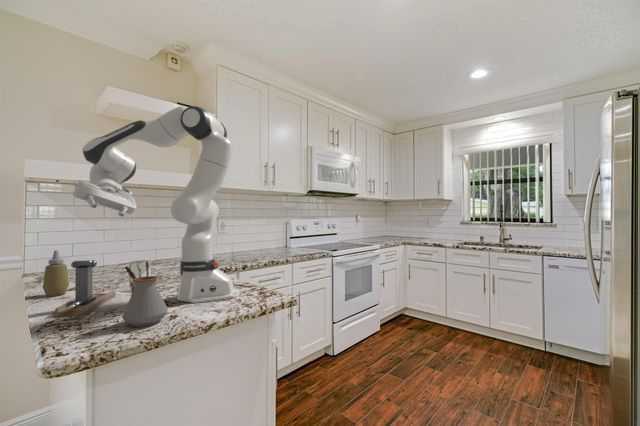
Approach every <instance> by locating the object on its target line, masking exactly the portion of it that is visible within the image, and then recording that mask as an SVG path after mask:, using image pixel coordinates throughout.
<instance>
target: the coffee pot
mask: <svg viewBox="0 0 640 426" xmlns="http://www.w3.org/2000/svg"><path fill="white" fill-rule="evenodd" d="M124 269H125V270H126V271H123V270H124ZM121 271H122V273H125V272H126V273H127V274H128V273H129V275H130V277H131V278H132V279H133V281H134V282H135V286H136V287H135V289H134V291H133V293H132V295H131V294H130V298H129V299H128V303H127V304H126V306H125V309H124V311H123V312H122V317H121V318H122V319H123V321H124V323H126V324H129V325H130V327H135V328H140V327H148V326H152V325H156V324H158V323H159V322H161V320H162V319H163V318H164V317H165V316H166V315H167V313H168V306H167V305H166V302H165V301H164V298H163V296H162V295H161V293H160V291H159V289H158V287H157V280H158V279H159V276H157V275H155V276H154V275H151V276H147V277H139V278H136V276H135V275H134V273H133V272H132V271H131V269H129V266H125V267H123V268H122V270H121Z"/></svg>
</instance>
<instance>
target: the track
mask: <svg viewBox="0 0 640 426" xmlns="http://www.w3.org/2000/svg"><path fill="white" fill-rule="evenodd" d="M92 297H96V300H94V301H93V302H91V303H89V304H81V305H79V306H77V307H76V308H74V309H72V310H68V306H70V305H72V301H74V300H75V298H74V299H72V300H70V301H68V302H66V303H64V304H62V305H60V306H58V307H56V308H54V311H53V312H52V318H60V317H62V318H63V317H72V316H73V317H74V316H84V315H88V314H90V313H91V312H93V311H95V310H96V309H98V308H100V307H101V306H102V305H104V304H106V303H107V302H109V301H110V300H112V299H114V298H115V297H117V292H116V291H115V289H112V290H110V291H107V292H95V293H94V292H92Z"/></svg>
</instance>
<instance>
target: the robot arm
mask: <svg viewBox="0 0 640 426" xmlns="http://www.w3.org/2000/svg"><path fill="white" fill-rule="evenodd" d="M189 135H190V136H191V137H193V138H194V139H196V141H200V142H201V147H202V149H201V151H200V154H199V158H198V161H197V163H196V165H195V168H194V171H193V174H192V176H191V178H190V180H189V182H188V183H187V185H186V186H185V187H184V190H183V191H182V192H181V194H180V195H179V196H177V198H175V199H174V200H173V201H172V203H171V206H170V213H171V216H172V218H174V219H175V221H177V222H179V223H182V224H185V225H187V227H186V230H185V234H184V235H183V237H182V239H181V261H180V262H179V274H180V284H179V289H178V294H177V297H176V300H177V301H181V302H188V303H191V304H196V303H203V302H213V301H220V300H227V299H234V298H236V297H238V296H239V294H240V293H239V292H240V291H239V289H238V288H236V287H234V284H233V280H232V278H231V276H230V275H228V274H226V273H225V272H224V271H222V270H220V269H219V262H218V260H216V259H214V258H213V241H214V239H213V238H214V231H215V228H216V221H217V218H218V217H219V215H220V214H219V213H220V208H219V207H220V206H218V204H217V202H215V201H214V200H213V199H214V197H215V195H216V194H217V192H218V191H219V190H220V189H221V188H222V185H223V182H224V180H225V176H226V175H227V172H228V168H229V165H230V161H231V157H232V154H233V153H232V152H233V143H232V142H231V141H230V140H229V138H228V132H227V128H226V127H225V125H224V124H223V123H222V122H220V121H219V120H218V119H217V118H216V116H215V115H213V114H212V113H210V112H208V111H207V110H205V109H204V108H202V107H200V106H196V105H190V106H188V107H186V106H177V107H175V108H172V109H171V110H169V111H167V112H165V113H164V114H162V115H160V116H159V117H158V118H155V119H153V120H152V119H151V120H148V121H144V120H141V119H140V120H136V121H133V122H131V123H129V124H126V125H124V126H122V127H120V128H118V129H116V130H113V131H111V132H108V133H107V134H105V135H102V136H99V137H96V138H94V139H91V140H89V141H88V142H87V143H86V144H85V145H84V146H83V148H82V154H83V157H84V159H85V161H87V162H89V163H91V164H92V166H91V168H90V171H89V182H88V181H85V180H80V179H79V180H77V179H75V180H74V181H73V185H74V189H73V196H74V197H75V198H77V199H80V200H83V201H85V202H87V204H88V205H89V207H90V208H92V209H96V208H97V206H98V205H99V206H101V207H105V208H109V209H111V210H114V211H115V210H116V211H118V214H117V215H118V216H120V217H122V218H123V217H124V216H125V215H126V214H128V215H132V214H133V213H135V212H136V210H137V202H136V201H135V198H134V197H133V193H132V191H131V190H128V189H127V188H125V187H124V186H122V185H121V184H123V183H126V182H127V181H129V180H131V179H132V178H133V176H134V175H135V174H136V170H137V163H136V161H135V160H134V159H133V158H131V157H130V156H129V155H127V154H125V153H124V152H122V151H121V150H120V149H118V148H116V147H117V146H120V145H122V144H124V143H126V142H128V141H131V140H136V141H137V140H138V141H142V142H145V143H149V144H150V145H152V146H156V147H159V148H169V147H170V148H171V147H173V146H175V145H176V144H177V143H179V142H180V141H182V140H183V139H184V138H186V137H187V136H189Z"/></svg>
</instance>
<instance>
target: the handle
mask: <svg viewBox="0 0 640 426" xmlns="http://www.w3.org/2000/svg"><path fill="white" fill-rule="evenodd" d="M97 265H98V263H97V261H96V260H90V259H89V260H74V261H72V262H71V264H70V267H71V268H72V269H75V283H74V284H75V287H74V289H75V291H74V292H75V298H74V299H75V300H74V299H73V300H74V301H72V300H71V301H72V305H70V306H68V310H72V309H74V308H76V307H77V306H79V305H81V304H89V303H91V302H93V301H94V300H96V297H92V293H93V268H94V267H97Z"/></svg>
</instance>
